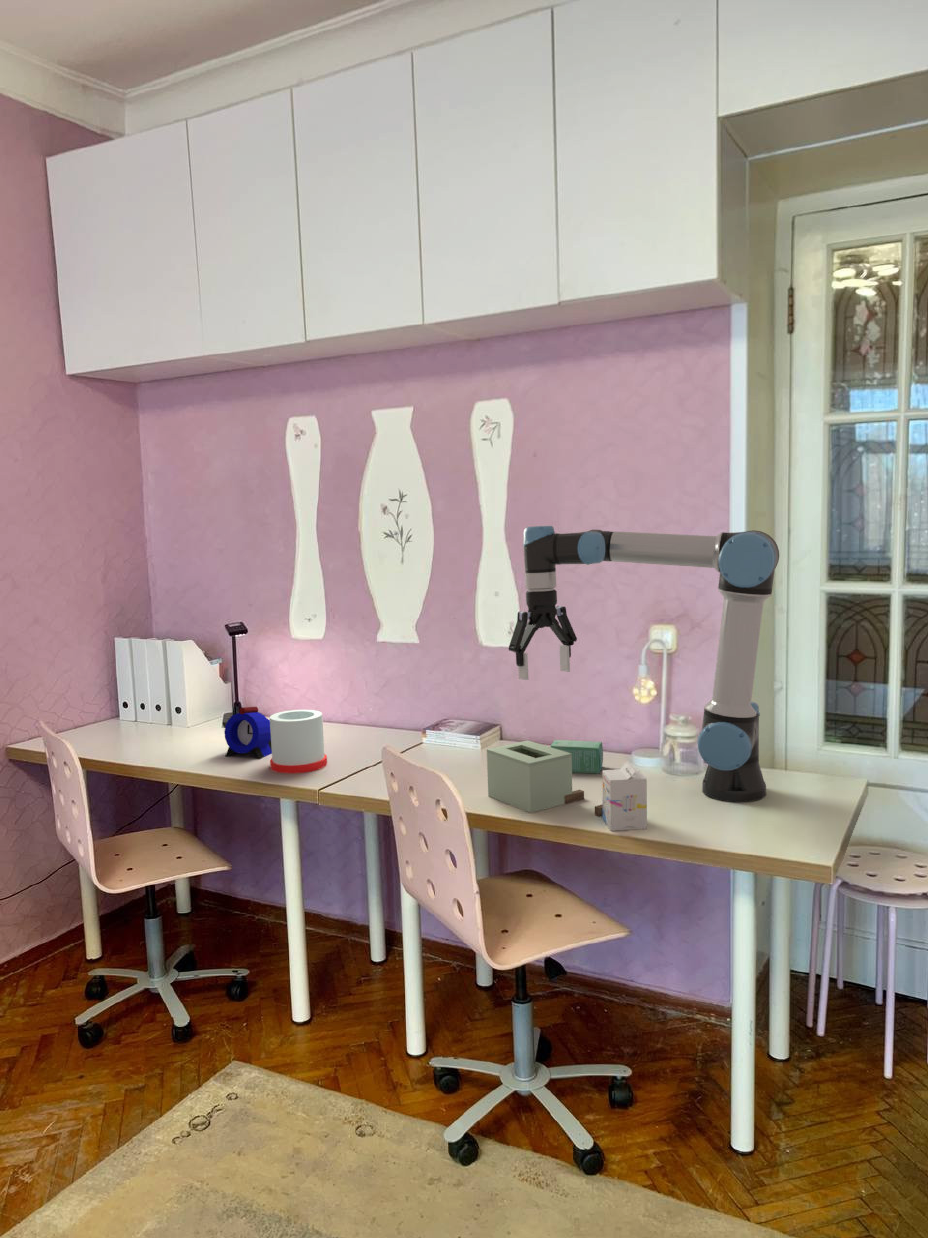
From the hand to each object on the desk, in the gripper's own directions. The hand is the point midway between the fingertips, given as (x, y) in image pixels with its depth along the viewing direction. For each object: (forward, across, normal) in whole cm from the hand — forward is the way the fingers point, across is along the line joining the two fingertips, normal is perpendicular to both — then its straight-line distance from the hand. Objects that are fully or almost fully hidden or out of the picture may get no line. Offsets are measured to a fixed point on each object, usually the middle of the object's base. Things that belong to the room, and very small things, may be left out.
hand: (544, 675), depth 235 cm
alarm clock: (+28, +40, -90) cm, 103 cm away
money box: (+30, +6, 0) cm, 31 cm away
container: (+29, +35, -68) cm, 82 cm away
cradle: (+30, 0, +14) cm, 33 cm away
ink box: (+31, +2, +28) cm, 42 cm away
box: (+30, -20, -11) cm, 38 cm away
